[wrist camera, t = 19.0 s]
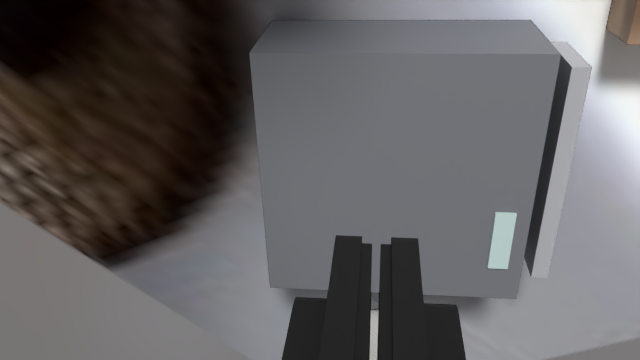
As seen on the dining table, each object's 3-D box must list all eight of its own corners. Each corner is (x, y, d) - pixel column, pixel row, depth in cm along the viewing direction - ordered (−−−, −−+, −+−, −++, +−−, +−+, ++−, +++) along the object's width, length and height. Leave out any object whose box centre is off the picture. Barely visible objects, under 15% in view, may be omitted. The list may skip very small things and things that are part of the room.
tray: (288, 41, 36) (275, 65, 32) (566, 41, 34) (591, 67, 30) (298, 227, 43) (288, 267, 39) (530, 235, 41) (547, 278, 37)
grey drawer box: (272, 20, 37) (248, 53, 30) (530, 19, 35) (562, 55, 29) (285, 228, 44) (269, 289, 38) (497, 236, 43) (516, 300, 37)
